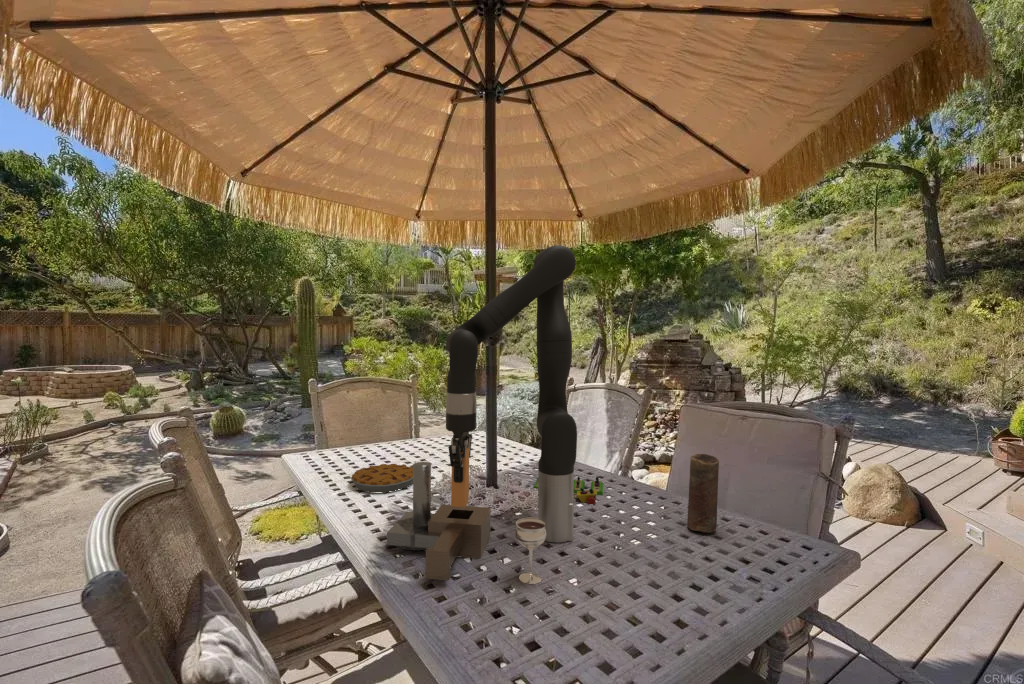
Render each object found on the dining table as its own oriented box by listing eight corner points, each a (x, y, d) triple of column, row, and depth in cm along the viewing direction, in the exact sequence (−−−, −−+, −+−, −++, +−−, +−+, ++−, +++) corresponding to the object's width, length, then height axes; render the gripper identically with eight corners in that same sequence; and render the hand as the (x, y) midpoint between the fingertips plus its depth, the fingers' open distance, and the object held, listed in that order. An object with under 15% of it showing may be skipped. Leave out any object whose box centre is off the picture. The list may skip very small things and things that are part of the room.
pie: (429, 481, 169) (429, 467, 169) (382, 500, 150) (382, 484, 150) (386, 471, 180) (386, 457, 180) (337, 487, 162) (337, 472, 162)
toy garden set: (603, 486, 165) (603, 473, 165) (602, 507, 147) (602, 492, 146) (537, 482, 170) (537, 469, 170) (528, 501, 151) (528, 487, 151)
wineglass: (536, 589, 100) (537, 532, 99) (509, 580, 103) (509, 525, 103) (551, 575, 105) (552, 521, 105) (525, 566, 109) (525, 514, 108)
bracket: (490, 538, 123) (490, 507, 123) (467, 589, 100) (467, 551, 99) (441, 534, 125) (441, 504, 125) (407, 583, 102) (407, 546, 101)
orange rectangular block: (468, 502, 120) (469, 446, 120) (465, 507, 117) (465, 450, 116) (455, 501, 121) (455, 446, 120) (451, 506, 117) (451, 449, 117)
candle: (717, 527, 131) (719, 455, 130) (717, 538, 124) (718, 462, 124) (688, 522, 134) (689, 452, 133) (685, 532, 127) (687, 458, 127)
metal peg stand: (456, 532, 126) (456, 458, 126) (440, 558, 112) (440, 474, 112) (405, 529, 129) (405, 455, 128) (383, 553, 115) (383, 471, 114)
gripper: (469, 416, 110) (468, 490, 111) (482, 406, 124) (481, 471, 125) (437, 415, 111) (437, 488, 112) (454, 405, 125) (453, 470, 126)
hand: (460, 479), depth 118 cm, fingers closed on orange rectangular block, 3 cm apart
